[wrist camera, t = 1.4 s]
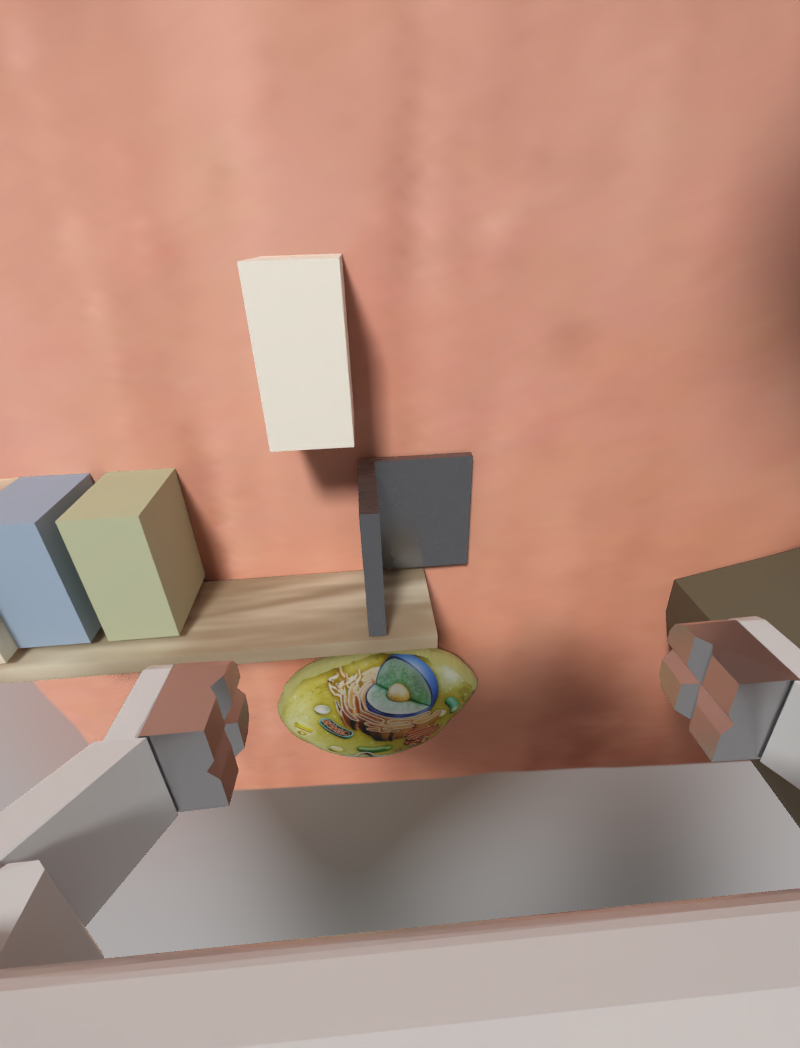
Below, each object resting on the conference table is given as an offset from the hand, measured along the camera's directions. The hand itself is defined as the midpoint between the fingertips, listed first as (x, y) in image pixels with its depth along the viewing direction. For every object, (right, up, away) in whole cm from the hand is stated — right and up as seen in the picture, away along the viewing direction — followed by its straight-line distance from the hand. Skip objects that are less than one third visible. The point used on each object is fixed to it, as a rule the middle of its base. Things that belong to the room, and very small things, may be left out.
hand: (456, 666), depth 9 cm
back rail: (-13, +3, +22) cm, 26 cm away
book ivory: (-6, +13, +17) cm, 22 cm away
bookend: (0, +3, +23) cm, 23 cm away
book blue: (-21, +2, +22) cm, 31 cm away
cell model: (-3, -9, +31) cm, 32 cm away
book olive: (-17, +2, +22) cm, 28 cm away
